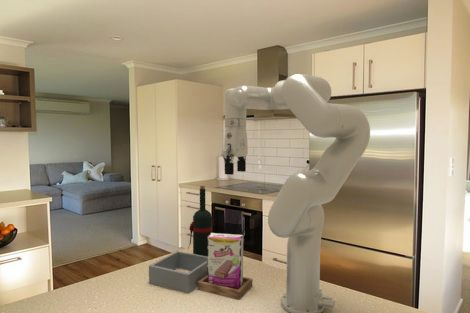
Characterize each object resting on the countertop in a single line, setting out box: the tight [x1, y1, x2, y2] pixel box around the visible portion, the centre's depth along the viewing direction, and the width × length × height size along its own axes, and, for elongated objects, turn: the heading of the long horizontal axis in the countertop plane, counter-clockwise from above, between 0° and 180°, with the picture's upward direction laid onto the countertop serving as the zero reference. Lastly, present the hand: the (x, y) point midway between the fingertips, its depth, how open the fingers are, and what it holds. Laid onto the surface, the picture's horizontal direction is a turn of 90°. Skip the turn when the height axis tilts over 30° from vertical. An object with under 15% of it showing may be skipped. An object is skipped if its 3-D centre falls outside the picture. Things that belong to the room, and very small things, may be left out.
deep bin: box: [148, 250, 207, 294], centre depth 116 cm, size 16×16×6 cm
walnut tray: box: [196, 275, 253, 301], centre depth 110 cm, size 15×10×2 cm, turn 64°
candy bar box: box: [207, 232, 244, 289], centre depth 109 cm, size 11×5×16 cm, turn 80°
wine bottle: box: [186, 185, 214, 256], centre depth 131 cm, size 8×10×30 cm
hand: (235, 172), depth 119 cm, fingers open, 9 cm apart
